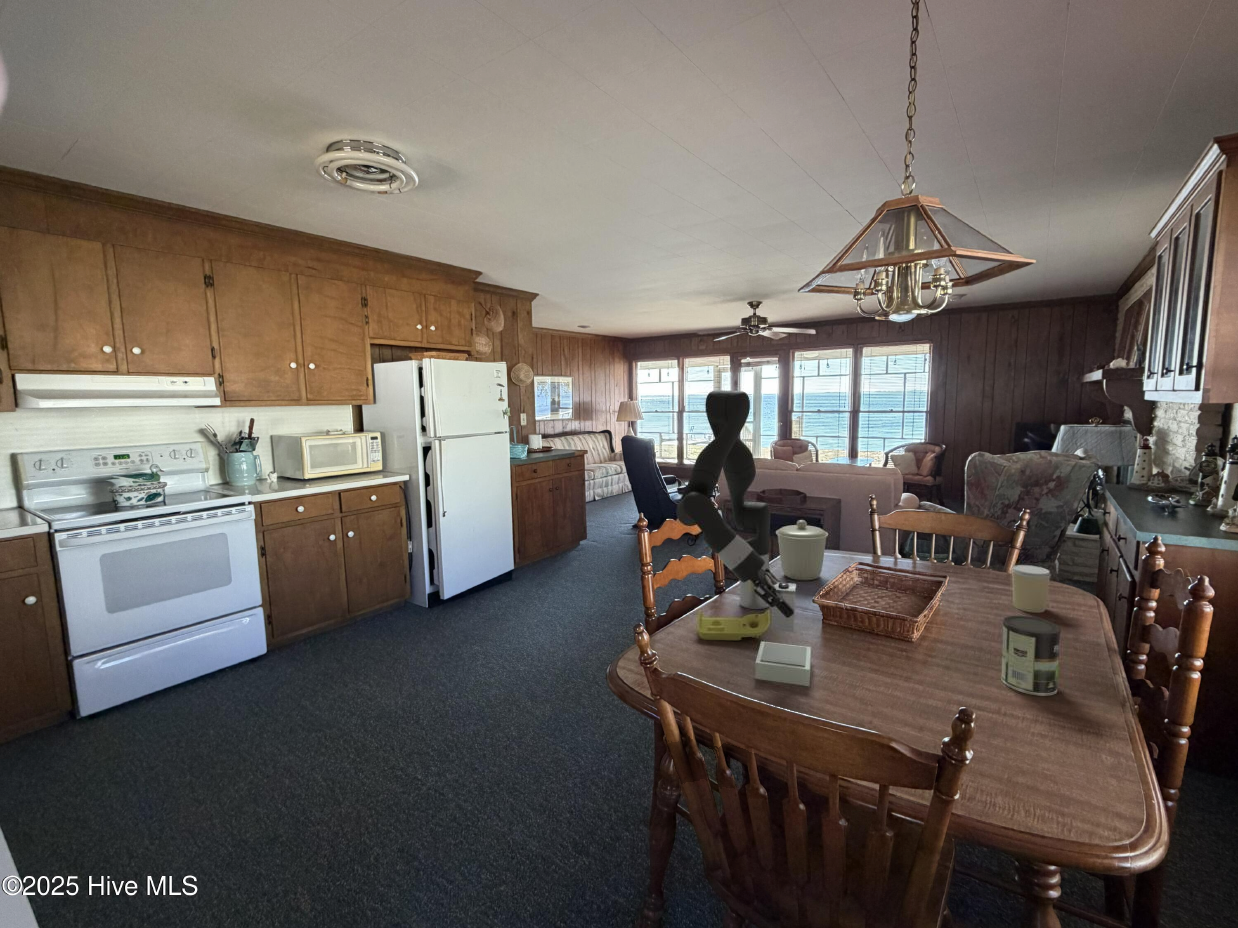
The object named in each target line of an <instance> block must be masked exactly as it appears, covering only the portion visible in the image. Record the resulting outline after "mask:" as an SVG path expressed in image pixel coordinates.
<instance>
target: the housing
mask: <svg viewBox="0 0 1238 928" xmlns="http://www.w3.org/2000/svg"><path fill="white" fill-rule="evenodd" d="M773 585H774V586H775V587H776V590H777V592H776V593H777V594H778V595H779V596H780V597H781V598H782V599H783V601H784V602H785V603H786V604H787V605H788V606H789V607H790V608H791V609H792V610H793V611H794V614H793V615H792V616H790V617H789V618H786V617H785V616H784V615H783V614H782V613H781V611H780V610H779V609H778V608H777V607H773V608H772V607H771V630H772V631H779V632H780V631H781V632H787V633H795V626H796V592H797V591H796V590H797V583H787V582H780V583H778V584H774V583H773ZM771 591H772V588H771ZM771 598H772V597H771ZM772 600H774V598H772Z"/></svg>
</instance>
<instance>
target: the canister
mask: <svg viewBox="0 0 1238 928" xmlns="http://www.w3.org/2000/svg"><path fill="white" fill-rule="evenodd" d="M775 534H776V535H777V540H778V547H779V548H778V549H779V558H780V564H781V571H782V572H783V574H784V576H785V577H787V578H790V579H792V580H796V581H813V580H816V579H818V578H819V577H820V576H821V573H822V571H823V566H824V565H823V563H824V558H825V550H826V540H827V537H828V536H829V533H828V532H827V531H825V530H824V529H822V528H821V527H817V526H813V525H808V522H806V520H804V519H799V520H797V522H796V524H794V525H786V526H782V527H781V528H779V529H777V530H776V531H775Z"/></svg>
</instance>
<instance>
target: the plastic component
mask: <svg viewBox="0 0 1238 928" xmlns="http://www.w3.org/2000/svg"><path fill="white" fill-rule="evenodd" d="M696 621H697V623H696V629H697V635H698V636H699V637H700V638H701V640H705V641H706V640H707V641H741V640H742V638H749V637H750V638H752V639H754V638H755V639H759V637H762V634H764V633H766V631H767V630H768V629H769V628H770V624H771V610H768V609H767V610H765V611H764V613H762V614H761V613H760V614H759V613H751V614H746V615H744V616H743V617H704V616H703V611H702V610H701V609H699V610H698V613H697V620H696Z"/></svg>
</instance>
